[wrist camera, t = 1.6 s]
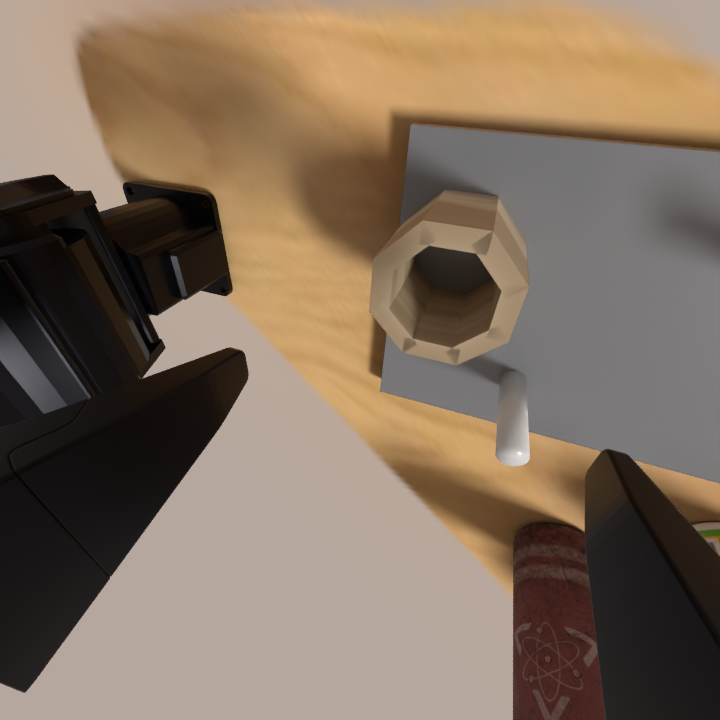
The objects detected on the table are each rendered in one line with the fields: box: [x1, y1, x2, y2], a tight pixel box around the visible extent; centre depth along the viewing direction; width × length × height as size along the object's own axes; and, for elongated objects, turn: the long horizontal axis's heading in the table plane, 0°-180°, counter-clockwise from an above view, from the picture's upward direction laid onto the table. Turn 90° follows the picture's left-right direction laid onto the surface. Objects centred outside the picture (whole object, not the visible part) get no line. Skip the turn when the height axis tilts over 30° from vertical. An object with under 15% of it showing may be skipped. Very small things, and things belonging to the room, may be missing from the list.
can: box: [513, 523, 606, 720], centre depth 24 cm, size 6×6×14 cm
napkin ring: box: [369, 189, 529, 365], centre depth 15 cm, size 6×6×5 cm
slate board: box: [380, 123, 720, 483], centre depth 15 cm, size 25×15×7 cm, turn 87°
